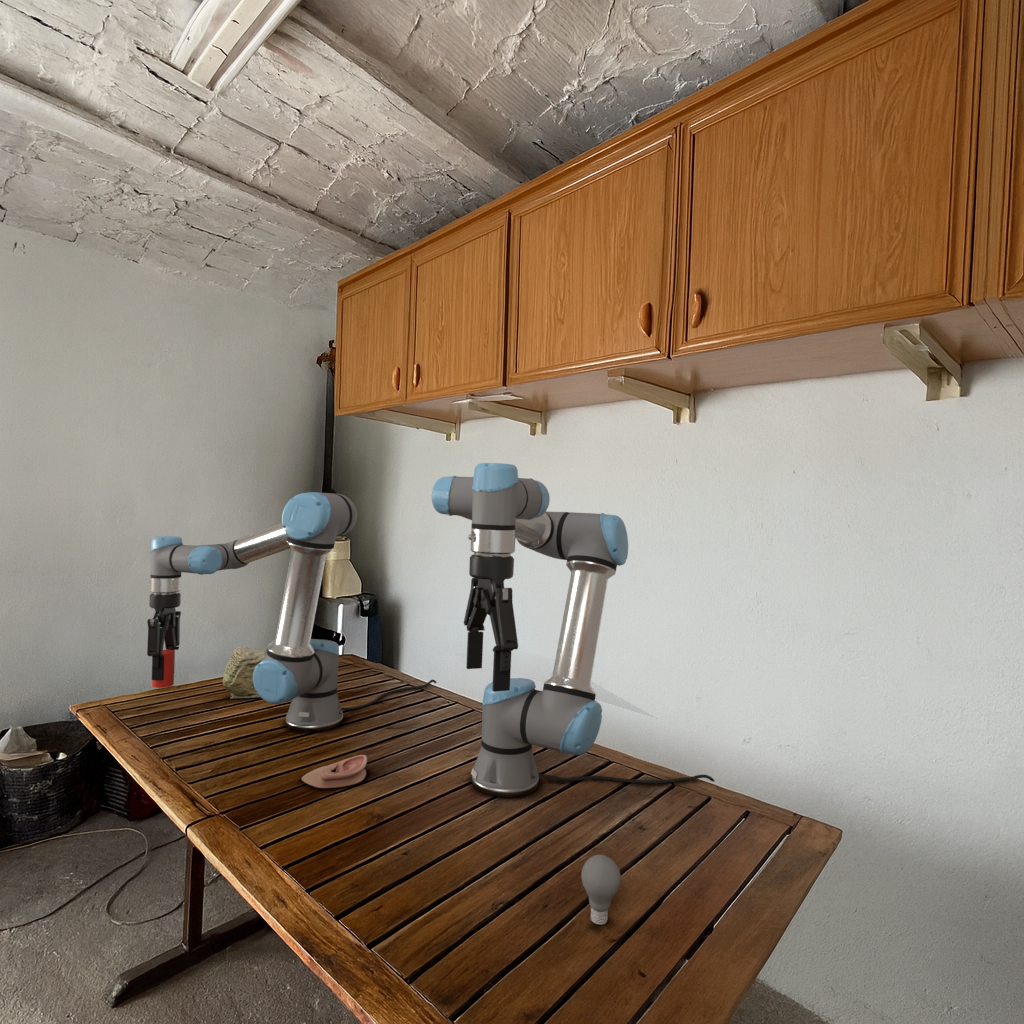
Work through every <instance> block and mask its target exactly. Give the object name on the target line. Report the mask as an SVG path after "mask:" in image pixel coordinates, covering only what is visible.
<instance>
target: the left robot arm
mask: <svg viewBox="0 0 1024 1024" xmlns="http://www.w3.org/2000/svg"><path fill="white" fill-rule="evenodd" d="M357 519H358V510H357V507H356V505H355V503H354V502H353V501H352V500H351V499H350V498H349V497H348V496H346V495H344V494H341V493H335V492H332V493H331V492H315V491H308V492H301V493H299V494H296V495H294V496H293V497H292V498H290V499H289V500H288V501H287V502H286V504H285V506H284V507H283V509H282V513H281V523H278V524H275V525H273V526H270V527H267V528H264V529H262V530H258V531H256V532H253V533H251V534H248V535H245V536H242V537H240V538H237V539H234V540H232V541H229V542H224V543H213V544H200V545H199V544H198V545H193V544H184V542H183V538H182V537H181V536H174V535H172V536H171V535H165V536H164V535H161V536H155V537H153V538H152V539H151V542H150V543H151V545H150V552H149V554H150V569H149V570H150V573H149V575H150V576H149V578H150V579H149V581H148V583H149V592H150V594H149V607H150V608H151V609H154V613H153V617H152V618H148V619H147V620H146V622H147V646H146V647H147V649H146V650H147V651H146V655H147V656H148V657H151V681H152V680H163V673H164V656H162V652H163V650H164V648H165V650H174V651H175V652H176V651H178V650H180V642H181V641H180V639H181V638H180V637H181V634H180V633H181V627H180V626H181V615H182V611H181V610H177V609H176V608H178V607H180V606H181V604H182V603H181V601H182V594H181V590H182V573H186V574H197V575H201V576H202V575H213V574H215V573H217V572H218V571H219V572H220V571H225V570H236V569H241V568H244V567H246V566H248V565H249V563H252V562H255V561H258V560H261V559H263V558H266V557H269V556H273V555H275V554H278V553H282V552H284V551H286V550H289V549H291V551H290V557H289V563H288V567H287V573H286V579H285V583H284V588H283V589H284V590H283V595H282V600H281V606H280V611H279V616H278V623H277V626H276V627H277V628H276V633H275V638H274V640H273V641H271V642H269V643H268V644H267V647H266V652H265V653H266V657H265V660H263V661H261V662H260V663H259V664H258V665H257V666H256V667H255V669H254V672H253V684H254V687H255V690H256V691H258V693H259V695H260V697H259V698H261V699H262V700H263V701H265V702H267V703H269V704H273V705H281V704H283V703H288V702H290V704H289V708H288V711H287V713H286V715H285V726H286V728H287V729H289V730H291V731H294V732H295V731H296V732H301V733H316V732H325V731H329V730H332V729H335V728H337V727H339V726H340V725H342V723H343V722H344V713H343V711H353V710H357V709H358V710H359V709H362V708H366V707H368V706H371V705H373V704H376V702H379V700H380V699H381V698H383V697H386V696H388V695H390V694H394V693H399V692H403V691H409V690H418V689H423V688H426V687H428V686H429V685H430V684H432V683H434V684H437V683H438V682H437V681H436V680H435V679H431V680H429V681H428V682H427V683H425V684H423V685H417V686H416V685H415V686H408V687H402V688H396V689H393V690H389V691H387V692H384V693H382V694H380V695H378V696H377V698H375V699H373V700H371V701H369V702H366V703H364V704H360V705H356V706H350V707H342V706H341V702H340V699H339V695H338V682H339V662H340V661H339V660H340V652H339V651H340V650H339V648H340V646H339V644H338V643H337V641H336V642H335V641H334V640H328V639H317V638H312V633H313V630H314V624H315V618H316V612H317V608H318V602H319V596H320V592H321V586H322V580H323V575H324V571H325V570H324V569H325V564H326V561H327V560H326V559H327V555H328V554H329V553H330V552H332V551H333V550H334V549H335V544H336V539H337V538H338V537H342V536H345V535H347V534H349V533H350V532H351V531H352V530H353V528H354V527H355V525H356V524H357ZM164 646H165V647H164ZM175 658H176V653H175V654H174V666H175V665H176V664H175V663H176V661H175V660H176V659H175Z"/></svg>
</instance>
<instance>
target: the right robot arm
mask: <svg viewBox="0 0 1024 1024" xmlns="http://www.w3.org/2000/svg"><path fill="white" fill-rule="evenodd" d="M517 468H518V467H517V466H516V465H515V464H513V463H502V462H501V463H499V462H481V463H477V464H476V465H475V466H474V470H473V476H457V475H452V476H442V477H439V478H438V479H437V480H436V481H435V483H434V484H433V487H432V490H431V491H432V492H431V502H432V505H433V509H434V510H435V511H436V512H437V513H438V514H440V515H445V516H449V517H452V516H457V517H462V518H465V519H467V520H469V521H471V525H470V526H471V530H470V534H468V536H467V537H468V538H467V539H468V540H470V551H471V552H472V553H473V554H471V555H470V556H469V567H468V568H469V569H468V574H469V576H470V577H472V578H471V580H470V591H469V595H468V599H467V605H466V610H465V615H464V618H463V619H464V620H463V625H464V626H465V627H466V631H467V644H466V665H465V668H466V670H475V669H477V670H478V669H483V651H484V631H486V629H485V625H484V624H485V621H486V619H487V616H489V620H490V624H491V628H492V632H493V637H494V642H495V645H494V647H493V648H492V652H493V662H492V663H493V664H492V665H493V666H492V667H493V668H492V681H491V682H490V683H488V684H487V685H486V686H485V687H484V690H483V696H482V697H483V698H482V702H481V705H482V717H481V740H480V741H481V743H480V749H479V752H478V755H477V758H476V760H475V763H474V766H473V767H472V769H471V772H470V774H471V784H472V786H473V788H475V789H476V790H477V791H478V792H481V793H483V794H486V795H488V796H492V797H499V798H516V797H517V798H518V797H523V796H526V795H529V794H531V793H533V792H534V791H536V790H537V789H538V787H539V781H540V779H539V778H544V779H549V780H556V781H561V782H579V781H585V780H606V781H614V782H622V783H632V784H633V783H634V784H652V785H653V784H655V785H656V784H671V783H677V782H686V781H694V780H697V779H707V780H709V781H710V782H713V783H714V782H716V780H715V779H714V778H713V777H712V776H710V775H708V774H697V775H694V776H693V775H692V776H686V777H677V778H669V779H636V778H635V779H631V778H621V777H613V776H608V775H607V776H606V775H586V776H584V775H583V776H577V777H562V776H555V775H550V774H545V773H539V770H538V767H537V763H536V760H535V756H534V751H533V746H536V747H540V748H542V749H547V750H552V751H556V752H560V754H565V755H567V754H568V755H573V756H583V755H585V754H586V753H588V752H589V751H590V750H591V748H592V746H594V743H595V742H596V739H597V737H598V734H599V732H600V729H601V724H602V719H603V715H602V713H603V708H602V705H601V703H600V702H598V701H597V700H596V697H597V692H596V691H595V689H594V688H593V686H592V677H593V671H594V666H595V659H596V653H597V647H598V642H599V635H600V629H601V623H602V618H603V611H604V605H605V600H606V599H605V598H606V592H607V588H608V581H609V579H611V578H612V577H614V576H615V575H616V573H617V568H618V567H620V566H623V565H625V564H626V562H627V560H628V556H629V537H628V532H627V527H626V524H625V522H624V521H623V519H622V518H621V517H620V516H618V515H617V514H609V513H608V514H607V513H604V512H600V513H591V512H574V511H573V512H572V511H571V512H569V511H547V510H548V508H549V505H550V501H551V497H550V492H549V490H548V488H547V487H546V485H545V484H544V483H543V482H541V481H539V480H537V479H534V478H530V477H529V478H525V477H519V470H518V469H517ZM516 541H517V543H518V544H519V545H520V546H522V547H524V548H526V549H529V550H531V551H533V552H536V553H538V554H540V555H543V556H546V557H548V558H553V559H556V560H563V561H566V564H565V566H566V567H567V568H568V570H569V572H570V579H569V583H568V590H567V594H566V600H565V605H564V611H563V616H562V621H561V627H560V633H559V638H558V643H557V649H556V655H555V660H554V665H553V670H552V675H551V676H550V678H548V679H546V680H545V681H544V682H543V686H542V690H538V689H536V687H537V686H536V682H535V681H534V680H532V679H530V678H525V677H524V678H523V677H511V673H512V672H511V671H512V669H511V668H512V652H513V651H514V650H518V649H519V642H518V635H517V634H518V633H517V625H516V618H515V611H514V604H513V588H512V587H505V580H510V579H513V577H514V569H515V568H514V567H515V557H514V556H512V554H514V553H515V552H516Z"/></svg>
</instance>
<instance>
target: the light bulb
mask: <svg viewBox="0 0 1024 1024" xmlns="http://www.w3.org/2000/svg"><path fill="white" fill-rule="evenodd" d="M621 875H622V874H621V871H620V868H619V867H618V865H617V863H616V862H615V861H614V860H613V859H612V858H611V857H609V856H608V855H605V854H595V855H592V856H590V857H589V858H588V859H587V860H586V861H585V862H584V864H583V866H582V869H581V875H580V877H581V883H582V886H583V888H584V890H585V892H586V894H587V896H588V902H589V905H590V920H591V922H593V923H594V924H596V925H601V926H602V925H606V924H607V922H608V918H609V917H608V914H609V908H610V906H611V903H612V900H613V898H614V897H615V895H616V894H617V892H618V891H619V889H620V885H621V880H622V876H621Z"/></svg>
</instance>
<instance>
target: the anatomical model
mask: <svg viewBox="0 0 1024 1024" xmlns="http://www.w3.org/2000/svg"><path fill="white" fill-rule="evenodd" d="M367 763H368V757H367V755H365V754H359V755H354V756H351V757H347V758H345V759H342V760H340V761H337V762H334V763H331V764H328V765H325V766H324V765H323V766H321V767H318V768H315V769H313V770H311V771H309V772H307V773H306V774H304V775H302V777H301V781H302V782H303V783H305V784H307V785H308V786H311V787H314V788H317V789H332V788H343V787H347V786H353V785H356V784H359V783H361V782H363V780H365V778H366V776H367V770H366V769H365V768H366V766H367Z"/></svg>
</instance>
